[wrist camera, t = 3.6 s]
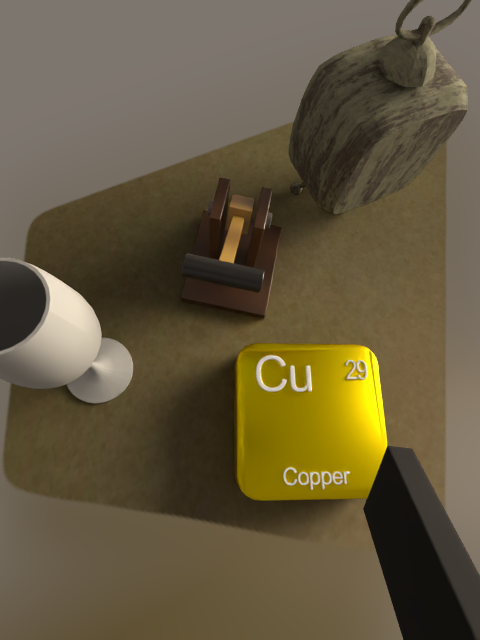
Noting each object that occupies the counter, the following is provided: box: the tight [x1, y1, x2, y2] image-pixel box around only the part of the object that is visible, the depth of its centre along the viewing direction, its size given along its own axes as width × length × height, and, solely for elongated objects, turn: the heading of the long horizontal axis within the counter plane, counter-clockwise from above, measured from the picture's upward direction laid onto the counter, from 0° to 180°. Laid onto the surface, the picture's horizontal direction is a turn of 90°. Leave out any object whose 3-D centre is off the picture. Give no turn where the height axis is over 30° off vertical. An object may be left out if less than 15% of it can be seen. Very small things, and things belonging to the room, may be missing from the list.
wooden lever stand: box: [181, 178, 282, 319], centre depth 40 cm, size 12×10×13 cm
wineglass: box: [0, 257, 133, 403], centre depth 31 cm, size 8×8×21 cm
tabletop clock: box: [289, 0, 471, 214], centre depth 38 cm, size 14×9×25 cm, turn 116°
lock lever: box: [181, 194, 265, 293], centre depth 32 cm, size 12×6×2 cm, turn 169°
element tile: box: [234, 343, 388, 501], centre depth 39 cm, size 15×15×5 cm
